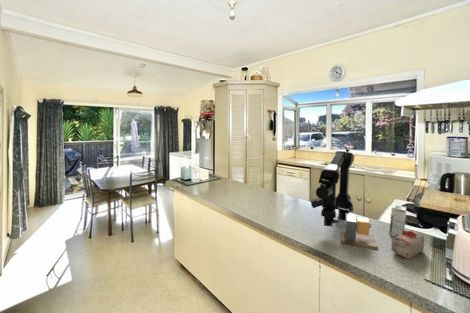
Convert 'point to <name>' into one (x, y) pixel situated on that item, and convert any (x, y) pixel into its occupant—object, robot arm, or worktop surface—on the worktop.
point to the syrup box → (397, 220)
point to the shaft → (339, 222)
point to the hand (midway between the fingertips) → (328, 224)
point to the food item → (408, 244)
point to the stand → (356, 235)
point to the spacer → (362, 225)
